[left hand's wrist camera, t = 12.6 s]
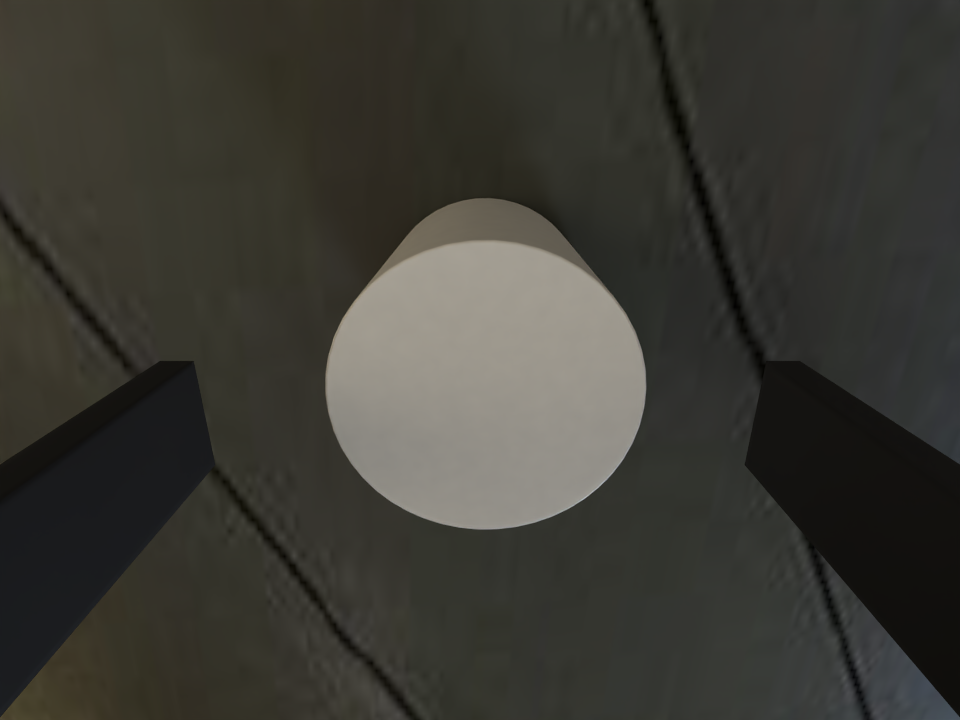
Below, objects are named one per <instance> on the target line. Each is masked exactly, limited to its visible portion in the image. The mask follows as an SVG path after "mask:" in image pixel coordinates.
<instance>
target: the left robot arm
mask: <svg viewBox="0 0 960 720" xmlns="http://www.w3.org/2000/svg"><path fill="white" fill-rule="evenodd" d="M214 466H215V462H214V457H213V452H212V447H211V442H210V438H209V433H208V428H207V423H206V418H205V414H204V409H203V404H202V399H201V394H200V390H199V385H198V380H197V375H196V370H195V365H194V361H160V362H158V363H157V364H155V365H153V366H152V367H150V368H149V369H147V370H146V371H144V372H143V373H141V374H140V375H138V376H136V377H135V378H133V379H132V380H130V381H129V382H127V383H126V384H124V385H123V386H121V387H119V388H118V389H116V390H115V391H113V392H112V393H110V394H109V395H107V396H106V397H104V398H102V399H101V400H99V401H98V402H96V403H95V404H93V405H92V406H90V407H89V408H87V409H85V410H84V411H82V412H81V413H79V414H78V415H76V416H75V417H73V418H72V419H70V420H68V421H67V422H65V423H64V424H62V425H61V426H59V427H58V428H56V429H55V430H53V431H51V432H50V433H48V434H47V435H45V436H44V437H42V438H41V439H39V440H38V441H36V442H34V443H33V444H31V445H30V446H28V447H27V448H25V449H24V450H22V451H21V452H19V453H17V454H16V455H14V456H13V457H11V458H10V459H8V460H7V461H5V462H4V463H2V464H0V717H1V716H2V714H3V713H4V712H5V711H6V710H7V708H8V707H9V706H10V705H11V704H12V703H13V701H14V700H15V699H16V698H17V697H18V696H19V694H20V693H21V692H22V691H23V690H24V689H25V687H26V686H27V685H28V684H29V683H30V681H31V680H32V679H33V678H34V677H35V676H36V674H37V673H38V672H39V671H40V670H41V669H42V667H43V666H44V665H45V664H46V663H47V662H48V660H49V659H50V658H51V657H52V656H53V655H54V653H55V652H56V651H57V650H58V649H59V647H60V646H61V645H62V644H63V643H64V642H65V640H66V639H67V638H68V637H69V636H70V635H71V633H72V632H73V631H74V630H75V629H76V628H77V626H78V625H79V624H80V623H81V622H82V620H83V619H84V618H85V617H86V616H87V615H88V613H89V612H90V611H91V610H92V609H93V608H94V606H95V605H96V604H97V603H98V602H99V601H100V599H101V598H102V597H103V596H104V595H105V594H106V592H107V591H108V590H109V589H110V588H111V586H112V585H113V584H114V583H115V582H116V581H117V579H118V578H119V577H120V576H121V575H122V574H123V572H124V571H125V570H126V569H127V568H128V567H129V565H130V564H131V563H132V562H133V561H134V559H135V558H136V557H137V556H138V555H139V554H140V552H141V551H142V550H143V549H144V548H145V547H146V545H147V544H148V543H149V542H150V541H151V540H152V538H153V537H154V536H155V535H156V534H157V533H158V531H159V530H160V529H161V528H162V527H163V525H164V524H165V523H166V522H167V521H168V520H169V518H170V517H171V516H172V515H173V514H174V513H175V511H176V510H177V509H178V508H179V507H180V506H181V504H182V503H183V502H184V501H185V500H186V498H187V497H188V496H189V495H190V494H191V493H192V491H193V490H194V489H195V488H196V487H197V486H198V484H199V483H200V482H201V481H202V480H203V479H204V477H205V476H206V475H207V474H208V473H209V472H210V470H211V469H212V468H213V467H214ZM745 466H746V467H747V468H748V469H749V470H750V472H751V473H752V474H753V475H754V476H755V477H756V479H757V480H758V481H759V482H760V483H761V484H762V486H763V487H764V488H765V489H766V490H767V491H768V493H769V494H770V495H771V496H772V497H773V499H774V500H775V501H776V502H777V503H778V504H779V506H780V507H781V508H782V509H783V510H784V511H785V513H786V514H787V515H788V516H789V517H790V518H791V520H792V521H793V522H794V523H795V524H796V525H797V527H798V528H799V529H800V530H801V531H802V533H803V534H804V535H805V536H806V537H807V538H808V540H809V541H810V542H811V543H812V544H813V545H814V547H815V548H816V549H817V550H818V551H819V552H820V554H821V555H822V556H823V557H824V558H825V560H826V561H827V562H828V563H829V564H830V565H831V567H832V568H833V569H834V570H835V571H836V572H837V574H838V575H839V576H840V577H841V578H842V579H843V581H844V582H845V583H846V584H847V585H848V586H849V588H850V589H851V590H852V591H853V592H854V594H855V595H856V596H857V597H858V598H859V599H860V601H861V602H862V603H863V604H864V605H865V606H866V608H867V609H868V610H869V611H870V612H871V613H872V615H873V616H874V617H875V618H876V619H877V621H878V622H879V623H880V624H881V625H882V626H883V628H884V629H885V630H886V631H887V632H888V633H889V635H890V636H891V637H892V638H893V639H894V640H895V642H896V643H897V644H898V645H899V646H900V647H901V649H902V650H903V651H904V652H905V653H906V655H907V656H908V657H909V658H910V659H911V660H912V662H913V663H914V664H915V665H916V666H917V667H918V669H919V670H920V671H921V672H922V673H923V674H924V676H925V677H926V678H927V679H928V680H929V682H930V683H931V684H932V685H933V686H934V687H935V689H936V690H937V691H938V692H939V693H940V694H941V696H942V697H943V698H944V699H945V700H946V701H947V703H948V704H949V705H950V706H951V707H952V708H953V710H954V711H955V712H956V713H957V714H958V716H959V717H960V464H958V463H956V462H955V461H953V460H952V459H950V458H949V457H947V456H946V455H944V454H943V453H941V452H939V451H938V450H936V449H935V448H933V447H932V446H930V445H929V444H927V443H926V442H924V441H922V440H921V439H919V438H918V437H916V436H915V435H913V434H912V433H910V432H909V431H907V430H905V429H904V428H902V427H901V426H899V425H898V424H896V423H895V422H893V421H892V420H890V419H888V418H887V417H885V416H884V415H882V414H881V413H879V412H878V411H876V410H875V409H873V408H871V407H870V406H868V405H867V404H865V403H864V402H862V401H861V400H859V399H858V398H856V397H854V396H853V395H851V394H850V393H848V392H847V391H845V390H844V389H842V388H841V387H839V386H837V385H836V384H834V383H833V382H831V381H830V380H828V379H827V378H825V377H824V376H822V375H820V374H819V373H817V372H816V371H814V370H813V369H811V368H810V367H808V366H807V365H805V364H803V363H802V362H800V361H766V365H765V370H764V375H763V380H762V385H761V390H760V394H759V399H758V404H757V409H756V414H755V418H754V423H753V428H752V433H751V438H750V442H749V447H748V452H747V457H746V462H745Z"/></svg>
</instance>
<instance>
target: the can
mask: <svg viewBox="0 0 960 720" xmlns="http://www.w3.org/2000/svg"><path fill="white" fill-rule="evenodd" d="M325 384H326V401H327V407H328V413H329V417H330V420H331V423H332V427H333V430H334V433H335V435H336V437H337V439H338V442H339V444H340V446H341V448H342V450H343V451H344V453H345V455H346V456H347V458H348V459H349V461H350V463H351V464H352V465H353V466H354V468H355V469H356V470H357V471H358V473H359V474H360V475H361V476H362V477H363V478H364V479H365V480H366V481H367V482H368V483H369V484H370V485H371V486H372V487H373V488H374V489H375V490H376V491H378V492H379V493H380V494H382V495H383V496H384V497H386V498H387V499H388V500H390V501H391V502H393V503H394V504H396V505H398V506H400V507H401V508H403V509H405V510H406V511H409V512H411V513H413V514H415V515H418V516H420V517H422V518H425V519H428V520H431V521H434V522H437V523H441V524H445V525H450V526H455V527H460V528H470V529H502V528H510V527H517V526H522V525H526V524H530V523H535V522H537V521H540V520H543V519H546V518H549V517H552V516H554V515H556V514H558V513H560V512H562V511H565V510H567V509H569V508H570V507H572V506H574V505H575V504H577V503H578V502H580V501H582V500H583V499H585V498H586V497H587V496H589V495H590V494H591V493H592V492H594V491H595V490H596V489H597V488H599V487H600V486H601V485H602V484H603V483H604V482H605V481H606V480H607V479H608V477H609V476H610V475H611V474H612V473H613V472H614V471H615V469H616V468H617V467H618V465H619V464H620V463H621V461H622V460H623V459H624V457H625V455H626V454H627V452H628V450H629V448H630V447H631V445H632V443H633V441H634V438H635V436H636V433H637V431H638V428H639V426H640V422H641V418H642V414H643V410H644V405H645V396H646V369H645V364H644V359H643V353H642V349H641V346H640V343H639V340H638V338H637V335H636V332H635V330H634V328H633V326H632V324H631V322H630V320H629V318H628V316H627V315H626V313H625V311H624V310H623V309H622V307H621V306H620V305H619V303H618V302H617V300H616V299H615V298H614V296H613V295H612V294H611V293H610V292H609V290H608V289H607V288H606V287H605V286H604V284H603V283H602V282H601V281H600V279H599V278H598V277H597V276H596V275H595V273H594V272H593V271H592V270H591V269H590V267H589V266H588V265H587V264H586V263H585V261H584V260H583V259H582V258H581V257H580V255H579V254H578V253H577V252H576V251H575V249H574V248H573V247H572V246H571V245H570V243H569V242H568V241H567V240H566V239H565V237H564V236H563V235H562V234H561V233H560V232H559V231H558V229H557V228H556V227H555V226H554V225H553V224H552V223H550V222H549V221H548V220H547V219H545V218H544V217H543V216H541V215H540V214H538V213H537V212H535V211H533V210H531V209H530V208H527V207H525V206H522V205H520V204H518V203H514V202H510V201H506V200H501V199H493V198H476V199H470V200H463V201H460V202H456V203H453V204H450V205H447V206H445V207H443V208H441V209H439V210H437V211H435V212H434V213H432V214H430V215H429V216H427V217H426V218H424V219H423V220H422V221H421V222H420V223H419V224H417V225H416V226H415V227H414V228H413V230H412V231H411V232H410V233H409V234H408V235H407V236H406V237H405V239H404V240H403V241H402V242H401V244H400V245H399V246H398V247H397V249H396V250H395V251H394V252H393V254H392V255H391V256H390V257H389V259H388V260H387V261H386V262H385V264H384V265H383V266H382V267H381V269H380V270H379V271H378V272H377V274H376V275H375V276H374V277H373V278H372V280H371V281H370V282H369V283H368V285H367V286H366V287H365V288H364V290H363V291H362V292H361V293H360V295H359V296H358V297H357V298H356V300H355V301H354V302H353V304H352V305H351V307H350V308H349V310H348V311H347V313H346V314H345V316H344V317H343V319H342V321H341V323H340V325H339V327H338V329H337V332H336V334H335V336H334V338H333V342H332V345H331V348H330V352H329V355H328V361H327V368H326V375H325Z"/></svg>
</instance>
